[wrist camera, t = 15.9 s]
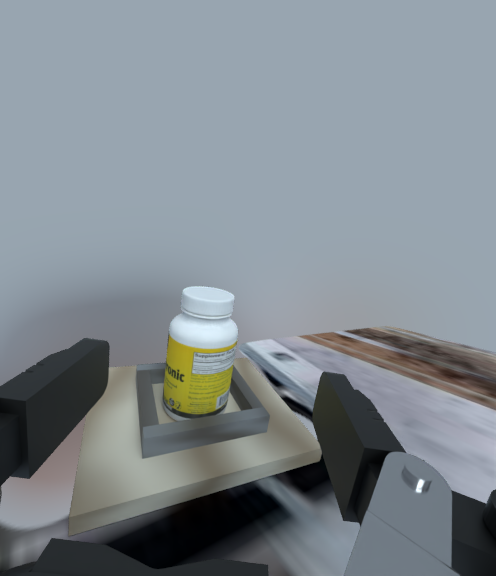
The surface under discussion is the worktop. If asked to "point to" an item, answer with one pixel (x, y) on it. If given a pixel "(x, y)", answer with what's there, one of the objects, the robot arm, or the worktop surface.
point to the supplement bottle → (200, 355)
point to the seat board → (179, 446)
